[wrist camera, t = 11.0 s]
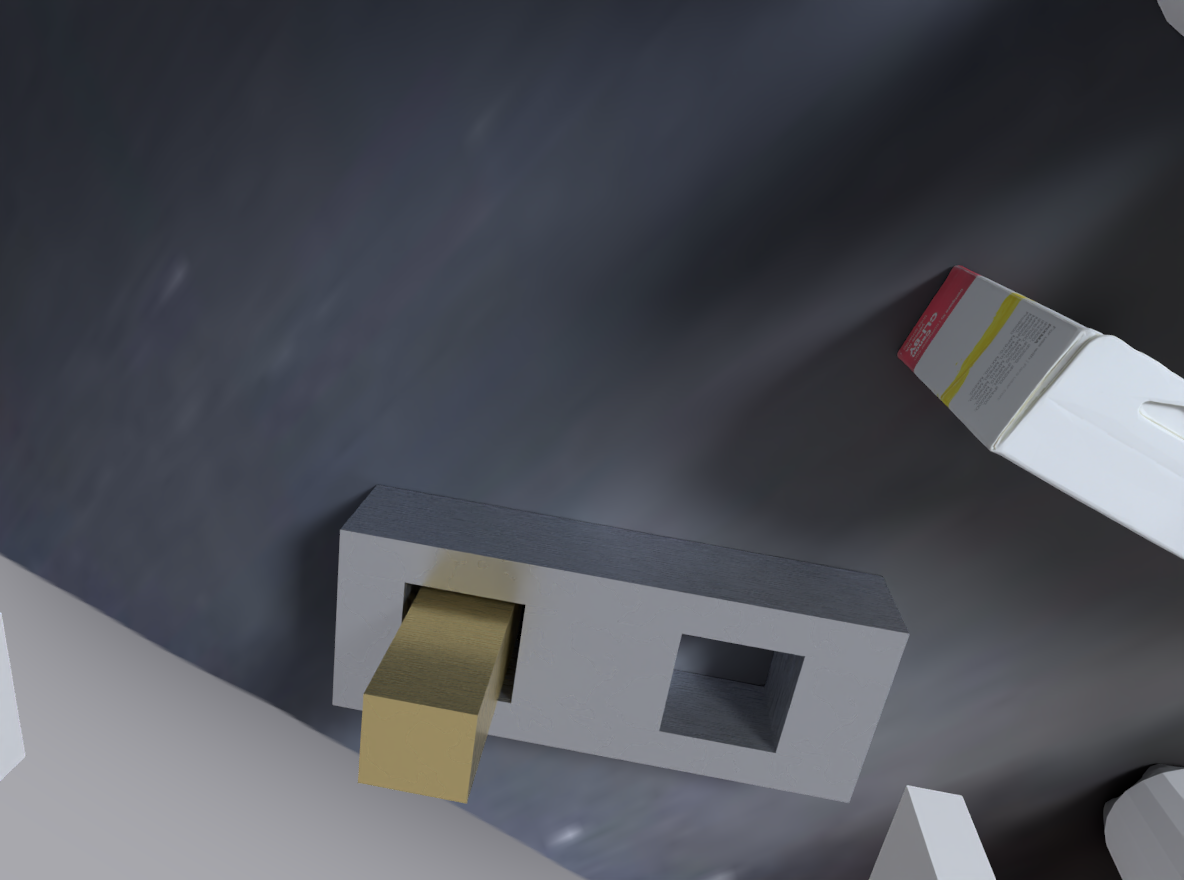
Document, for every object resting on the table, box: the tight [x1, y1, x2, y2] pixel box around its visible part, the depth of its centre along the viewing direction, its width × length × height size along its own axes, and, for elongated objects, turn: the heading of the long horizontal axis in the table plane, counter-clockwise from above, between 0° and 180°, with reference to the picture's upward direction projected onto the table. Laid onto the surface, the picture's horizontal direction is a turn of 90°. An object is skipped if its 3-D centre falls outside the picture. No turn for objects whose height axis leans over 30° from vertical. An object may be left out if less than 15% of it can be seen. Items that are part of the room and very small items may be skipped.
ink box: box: [897, 265, 1184, 559], centre depth 31 cm, size 9×5×12 cm, turn 62°
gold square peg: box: [358, 586, 522, 803], centre depth 38 cm, size 4×4×12 cm
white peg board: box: [332, 485, 909, 803], centre depth 41 cm, size 10×26×5 cm, turn 81°
